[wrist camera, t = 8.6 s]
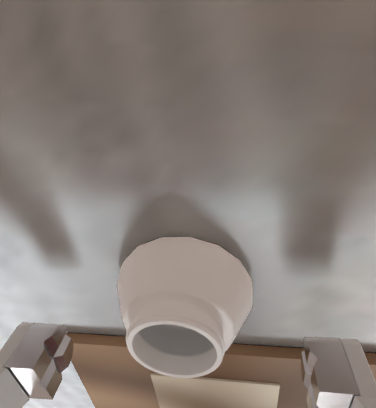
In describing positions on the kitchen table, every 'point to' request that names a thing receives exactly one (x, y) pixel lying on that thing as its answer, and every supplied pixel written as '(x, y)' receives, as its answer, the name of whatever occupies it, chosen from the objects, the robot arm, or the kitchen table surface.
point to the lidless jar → (182, 304)
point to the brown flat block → (192, 387)
